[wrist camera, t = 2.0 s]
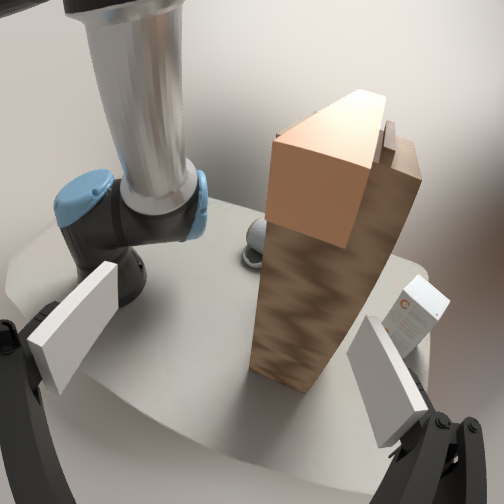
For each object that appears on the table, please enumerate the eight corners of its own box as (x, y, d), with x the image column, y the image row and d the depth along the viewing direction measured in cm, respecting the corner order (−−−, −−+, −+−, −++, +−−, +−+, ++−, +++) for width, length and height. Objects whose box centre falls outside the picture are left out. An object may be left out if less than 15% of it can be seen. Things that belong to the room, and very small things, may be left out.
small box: (416, 342, 45) (451, 301, 37) (401, 361, 43) (438, 321, 34) (389, 317, 50) (418, 272, 41) (372, 334, 47) (402, 289, 38)
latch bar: (264, 220, 10) (272, 140, 8) (355, 113, 26) (359, 89, 24) (344, 249, 9) (370, 169, 7) (380, 121, 25) (386, 96, 23)
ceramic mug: (262, 235, 67) (265, 208, 61) (291, 250, 63) (296, 223, 58) (233, 259, 60) (233, 231, 55) (263, 277, 57) (267, 249, 52)
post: (248, 368, 42) (277, 117, 17) (274, 323, 48) (316, 100, 23) (306, 393, 39) (427, 163, 14) (326, 345, 45) (416, 130, 20)
